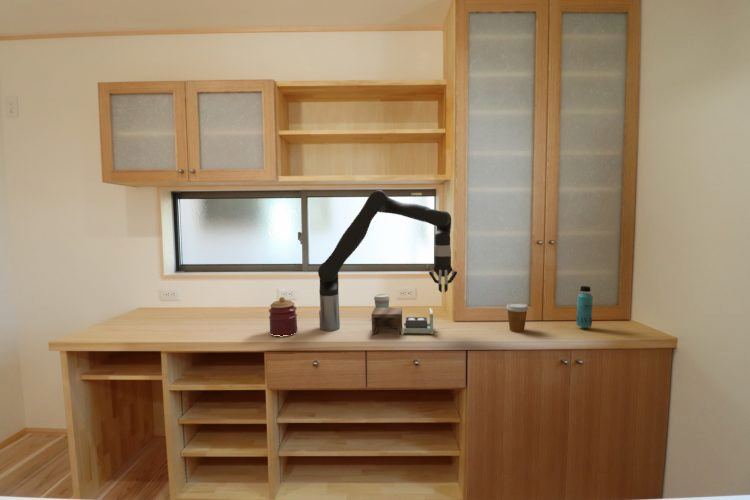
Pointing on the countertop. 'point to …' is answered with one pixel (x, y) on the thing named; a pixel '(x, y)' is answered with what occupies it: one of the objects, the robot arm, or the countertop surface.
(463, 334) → the countertop surface
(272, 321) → the canister
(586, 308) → the beverage bottle
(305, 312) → the countertop surface
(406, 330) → the pullout shelf
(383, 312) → the small wooden cabinet
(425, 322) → the grey open box
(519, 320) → the disposable coffee cup
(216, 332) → the countertop surface
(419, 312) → the countertop surface
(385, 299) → the coffee cup
